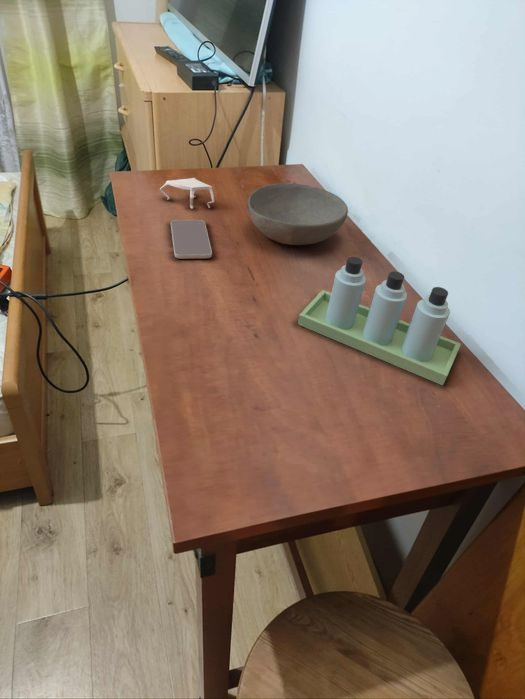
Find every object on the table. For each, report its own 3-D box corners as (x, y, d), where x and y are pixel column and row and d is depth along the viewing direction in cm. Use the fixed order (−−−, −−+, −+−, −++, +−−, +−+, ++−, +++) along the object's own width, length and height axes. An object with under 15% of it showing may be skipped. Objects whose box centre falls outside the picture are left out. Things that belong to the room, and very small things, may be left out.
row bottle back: (358, 318, 90) (375, 259, 82) (347, 333, 86) (364, 272, 78) (332, 308, 91) (346, 249, 83) (320, 322, 88) (334, 261, 80)
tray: (456, 353, 86) (461, 343, 85) (442, 385, 79) (447, 376, 78) (320, 298, 94) (322, 289, 93) (297, 324, 88) (299, 314, 86)
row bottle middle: (395, 334, 87) (416, 274, 80) (386, 349, 84) (407, 288, 76) (368, 323, 89) (386, 263, 81) (358, 337, 86) (376, 276, 78)
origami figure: (209, 194, 123) (210, 175, 120) (214, 210, 117) (215, 190, 114) (159, 194, 121) (158, 173, 117) (161, 210, 114) (160, 189, 111)
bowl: (298, 272, 100) (304, 236, 95) (224, 231, 110) (226, 196, 105) (358, 240, 113) (366, 207, 108) (287, 206, 123) (292, 173, 118)
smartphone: (204, 220, 111) (212, 254, 100) (204, 223, 112) (212, 259, 101) (170, 219, 110) (174, 255, 98) (170, 223, 110) (174, 259, 99)
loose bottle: (434, 349, 85) (460, 289, 77) (426, 366, 82) (452, 305, 74) (406, 338, 87) (428, 278, 79) (397, 353, 83) (419, 292, 75)
